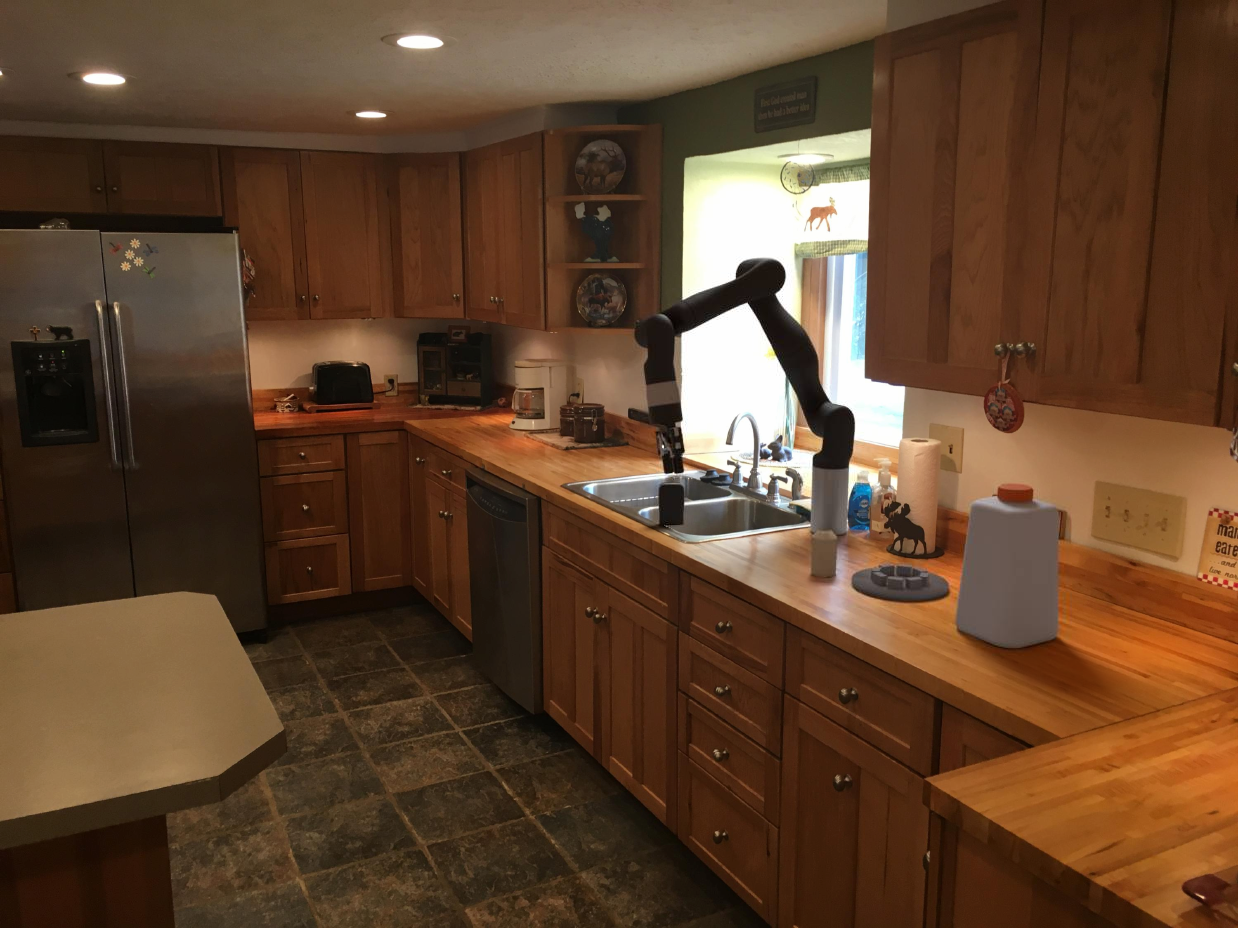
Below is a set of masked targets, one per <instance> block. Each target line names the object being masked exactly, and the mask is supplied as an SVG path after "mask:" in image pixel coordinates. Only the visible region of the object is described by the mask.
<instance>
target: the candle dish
mask: <svg viewBox="0 0 1238 928" xmlns="http://www.w3.org/2000/svg"><path fill="white" fill-rule="evenodd" d="M851 586H852V588H854V589H855V590H856V591H857V592H859V593H862V594H864V595H866V596H870V597H874V598H877V599H882V600H888V601H895V602H896V601H897V602H909V603H910V602H926V601H933V600H937V599H938V600H939V599H941V598H943V597H945V596H946V595H947V594H948V593H949V590H950V589H949V588H950V583H949V582H948V580H947V579H946V578H944V577H942V576H941V575H938V574H936V573H933V572H929V571H928V570H926V569H924V568H922V567H919V566H916V567H913V565H911V564H905V563H897V565H896V566H895V565H894V564H892V563H884V564H883V563H882V564H878V566H873V567H869V568H864V569H860V570H858V571H856V572H854V573H853V574H852V575H851Z"/></svg>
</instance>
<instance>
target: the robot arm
mask: <svg viewBox="0 0 1238 928" xmlns="http://www.w3.org/2000/svg"><path fill="white" fill-rule="evenodd" d="M786 279H787V274H786V268H785V267H784V265H783V263H782V262H780V261H779V260H778V259H775V258H772V257H755V258H747V259H745V260H743V261H741V262H740V263H739V264H738V266H737V268H736V270H735V279H733V280H729V281H728V282H726V283H723V284H720V285H716V286H713V287H711V288H708V289H705V290H702V291H699V292H697V293H695V294H692V295H690V296H688V297H686V298H683V299H682V300H680V301H678V302H677V303H674V304H673V305H671V306H670V307H669V308H666V309H663V310H662V311H659V312H657V313H654V314H652V315H650V316H648V317H645V318H643V319H641V321H639V322H638V323H637V325H636V326H635V328H634V332H633V336H634V340H635V342H636V343H637V344H638V345H639V346H640V347H641V348H644V349H647V358H646V360H645V361H644V364H643V373H644V374H643V375H644V381H645V387H646V388H645V389H646V391H645V392H646V396H645V397H646V403H647V409H648V416H649V422H650V426H653V427H654V426H658V427H659V428H658V430H655V432H654V433H655V440H656V446H657V447H656V448H657V455H658V456H659V457H660V458H661V460H662V467H663V474H665V475H670V474H675V475H678V474H684V473H685V467H684V462H683V456H684V454H685V452H686V450H685V443H684V437H683V436H684V435H683V431H682V427H681V426H677V425H676V423H681V422H683V420H684V418H683V409H682V402H681V397H680V395H681V394H680V390H679V387H678V383H677V376H676V369H675V351H676V350H675V349H676V348H675V347H676V346H675V345H676V344H675V343H676V336H679V335H681V334H684V333H687V332H690V331H692V330H694V329H696V328H698V327H700V326H701V325H704V324H706V323H708V322H709V321H711V320H713V319H715V318H717V317H720V316H721V315H723V314H725V313H727V312H729V311H731V310H734V309H735V308H739V307H740V306H743V305H746V304H747V305H748V307H749V308H750V310H752V312H753V314H754V316H755V317H756V319H757V321H758V322H759V325H760V327H761V328H762V331H763V332H764V335H765V337H766V338H767V341H768V343H770V346H771V347H772V350H773V352H774V355H775V357H776V360H777V361H778V363H779V365H780V366H781V369H782V370H783V372H784V374H785V376H786V378H787V379H788V382H789V384H790V386H791V388H792V390H793V392H794V393H795V396H796V398H797V400H798V402H799V405H800V407H801V411H802V413H803V416H804V418H805V421H806V423H807V426H808V428H809V430H810V431H811V433H813V435H815V436H817V437H818V438H821V439H822V442H821V443H822V444H821V449H820V451H819V452H816V453H814V454H813V455H812V466H811V467H812V468H811V469H812V470H811V499H810V500H811V501H810V503H811V504H810V505H811V506H810V529H809V530H810V532H812V533H813V534H815V533H816V532H817V530H823V531H827V530H832V531H833V533H834V534H835V535H836V536H841V535H845V534H846V533H847V531H848V530H847V529H848V509H849V508H848V507H849V506H848V505H849V504H848V503H849V480H850V479H849V478H850V477H849V476H850V475H849V474H850V461H851V458H852V456H853V453H854V445H855V444H854V443H855V433H856V420H855V415H854V413H853V411H852V409H851V408H850V407H847V406H846V405H842V404H838V403H832V401H831V400H830V399H829V397H828V396H827V395H828V394H827V393H826V392H825V390H824V388H823V386H822V384H821V381H820V363H819V362H820V361H819V357H818V356H819V355H818V353H817V351H816V348H815V346H814V344H813V342H812V340H811V338H810V336H809V333H808V332H807V331H806V330H805V328H804V327H803V325H801V324H800V323H799V322H798V320H796V319H795V317H793V316H792V315H791V314H790V313H789V312H788V311H787V310H786V309H785V308H784V306H783V305H782V303H781V301H780V300H779V298H778V296H777V293H779V292H780V291H781V290H782V288H783V287H784V285H785V282H786Z"/></svg>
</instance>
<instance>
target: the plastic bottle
mask: <svg viewBox="0 0 1238 928" xmlns="http://www.w3.org/2000/svg"><path fill="white" fill-rule="evenodd" d="M996 494H997V495H994V496H988V497H982V498H978V499H976V500H974V501H973V502H972V503H971V505H970V509H969V517H968V518H969V519H968V524H967V525H968V526H967V531H966V537H965V539H966V540H965V545H964V546H965V547H964V552H963V553H964V554H963V559H962V567H961V575H960V582H959V590H958V598H957V602H956V603H957V605H956V611H955V620H954V623H955V626H956V627H957V629H958V630H959V631H960V632H962V633H964V634H967V635H969V636H972V637H974V638H977V639H978V640H982V641H984V642H986V643H989V644H990V645H993V646H996V647H1000V648H1003V649H1004V648H1005V649H1021V648H1025V647H1030V646H1033V645H1037V644H1041V643H1044V642H1046V643H1047V642H1050V641H1052V640H1054V639H1055V638H1056V637H1057V636H1058V634H1059V633H1058V632H1059V519H1060V518H1059V516H1060V515H1059V514H1060V513H1059V509H1058V507H1057V506H1056V505H1054V504H1053V503H1049V502H1046V501H1043V500H1039V499H1035V498H1034V488H1033V487H1032V486H1030V485H1027V484H1021V483H1003V484H1002V483H1001V484H1000V485H999V486H998V487H997V493H996Z"/></svg>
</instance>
